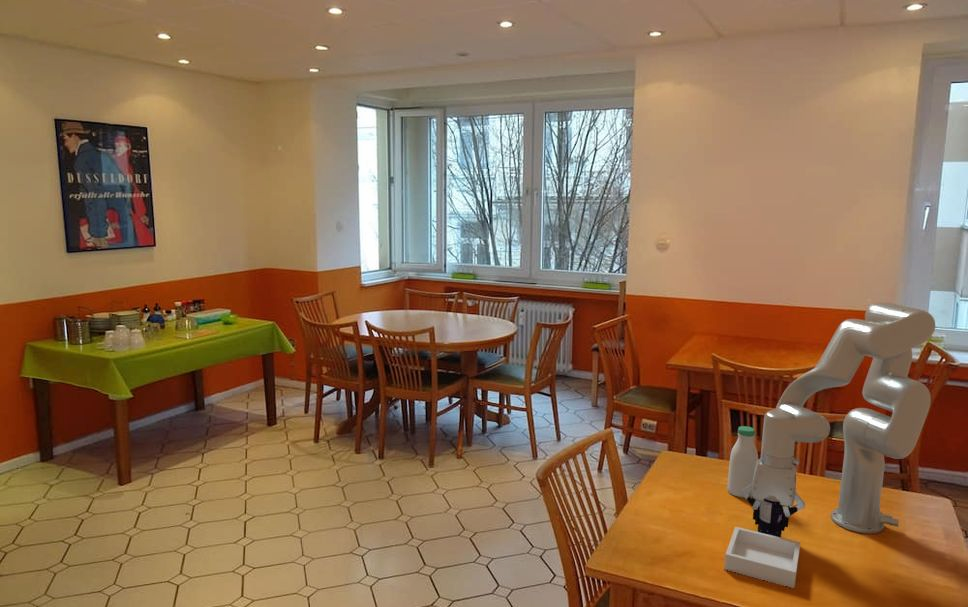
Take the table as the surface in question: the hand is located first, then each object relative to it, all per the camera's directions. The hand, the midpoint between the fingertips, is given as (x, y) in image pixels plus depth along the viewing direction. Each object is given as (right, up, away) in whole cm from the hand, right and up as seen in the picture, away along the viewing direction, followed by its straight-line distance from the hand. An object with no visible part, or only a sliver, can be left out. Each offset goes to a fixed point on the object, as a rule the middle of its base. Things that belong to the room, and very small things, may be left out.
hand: (770, 525), depth 172 cm
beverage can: (0, -3, +1) cm, 3 cm away
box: (-7, -5, -13) cm, 15 cm away
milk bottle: (+2, +1, +25) cm, 25 cm away
